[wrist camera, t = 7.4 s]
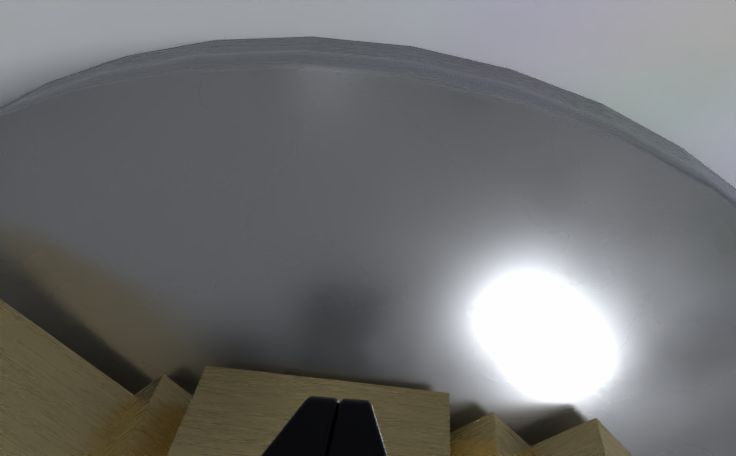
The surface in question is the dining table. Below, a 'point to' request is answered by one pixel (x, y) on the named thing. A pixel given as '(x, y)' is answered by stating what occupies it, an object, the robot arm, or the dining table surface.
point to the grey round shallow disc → (376, 236)
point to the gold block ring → (223, 411)
